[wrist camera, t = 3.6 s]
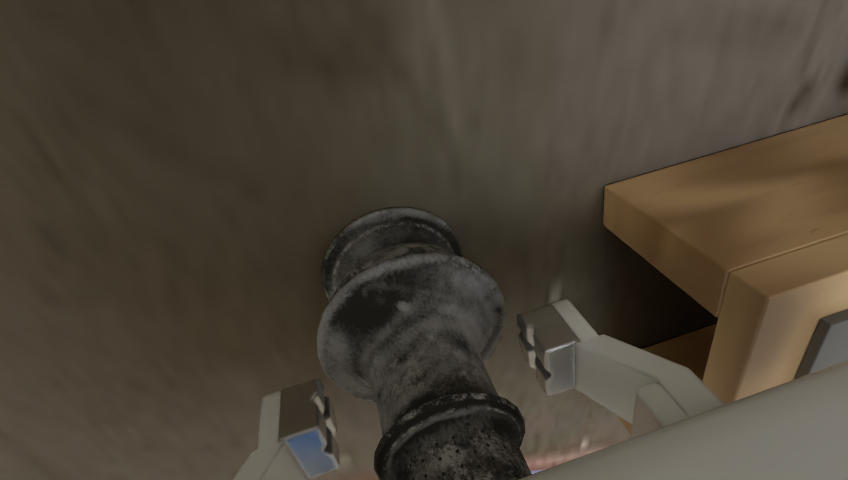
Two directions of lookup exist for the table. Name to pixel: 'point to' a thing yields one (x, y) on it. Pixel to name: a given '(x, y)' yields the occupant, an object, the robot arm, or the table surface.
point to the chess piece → (419, 348)
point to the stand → (750, 255)
